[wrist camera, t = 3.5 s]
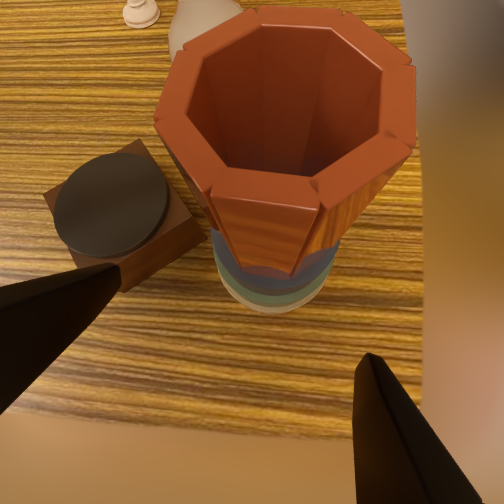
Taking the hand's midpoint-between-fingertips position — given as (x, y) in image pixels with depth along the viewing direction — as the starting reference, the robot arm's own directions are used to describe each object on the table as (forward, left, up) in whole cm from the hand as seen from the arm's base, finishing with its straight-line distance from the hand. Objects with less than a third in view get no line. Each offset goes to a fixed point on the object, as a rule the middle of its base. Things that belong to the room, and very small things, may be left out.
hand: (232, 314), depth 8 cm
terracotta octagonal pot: (+3, -4, -4) cm, 6 cm away
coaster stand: (+13, +4, -13) cm, 19 cm away
